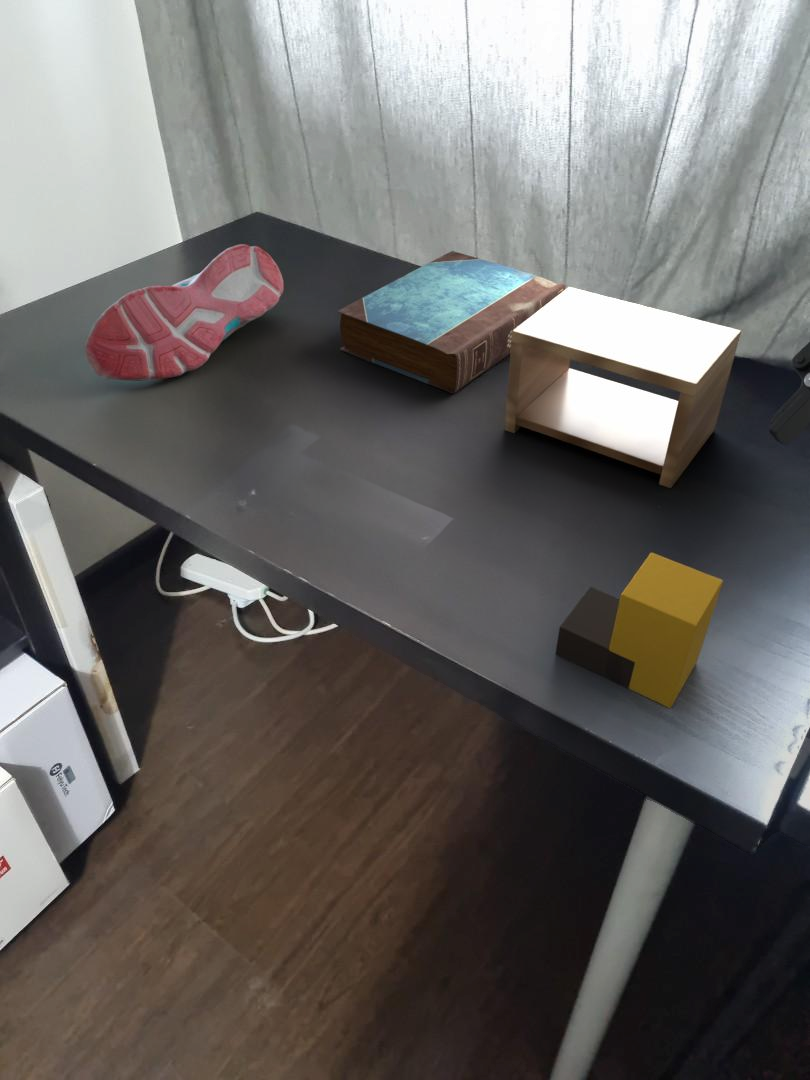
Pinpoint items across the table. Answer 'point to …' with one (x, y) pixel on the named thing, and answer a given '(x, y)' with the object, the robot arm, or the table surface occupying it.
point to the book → (444, 319)
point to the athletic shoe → (183, 317)
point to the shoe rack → (612, 408)
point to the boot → (644, 629)
